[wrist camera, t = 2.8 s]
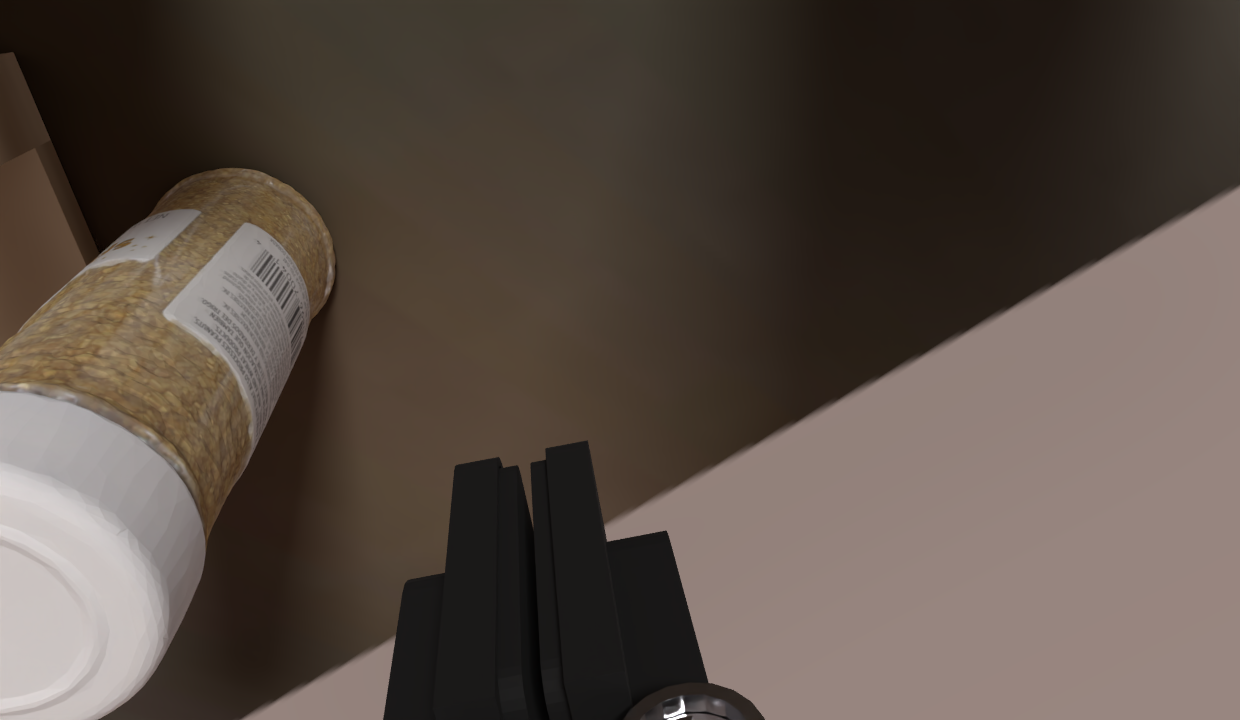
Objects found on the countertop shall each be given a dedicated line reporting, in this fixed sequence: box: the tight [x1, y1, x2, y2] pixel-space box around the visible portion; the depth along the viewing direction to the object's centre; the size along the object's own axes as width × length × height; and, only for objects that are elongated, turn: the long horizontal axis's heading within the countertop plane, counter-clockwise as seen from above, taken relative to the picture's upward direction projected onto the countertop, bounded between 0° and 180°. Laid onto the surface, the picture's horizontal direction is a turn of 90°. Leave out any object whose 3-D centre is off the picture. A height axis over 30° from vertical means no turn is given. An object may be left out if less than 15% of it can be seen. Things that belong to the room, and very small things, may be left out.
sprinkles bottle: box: [0, 168, 336, 720], centre depth 17 cm, size 5×5×13 cm
